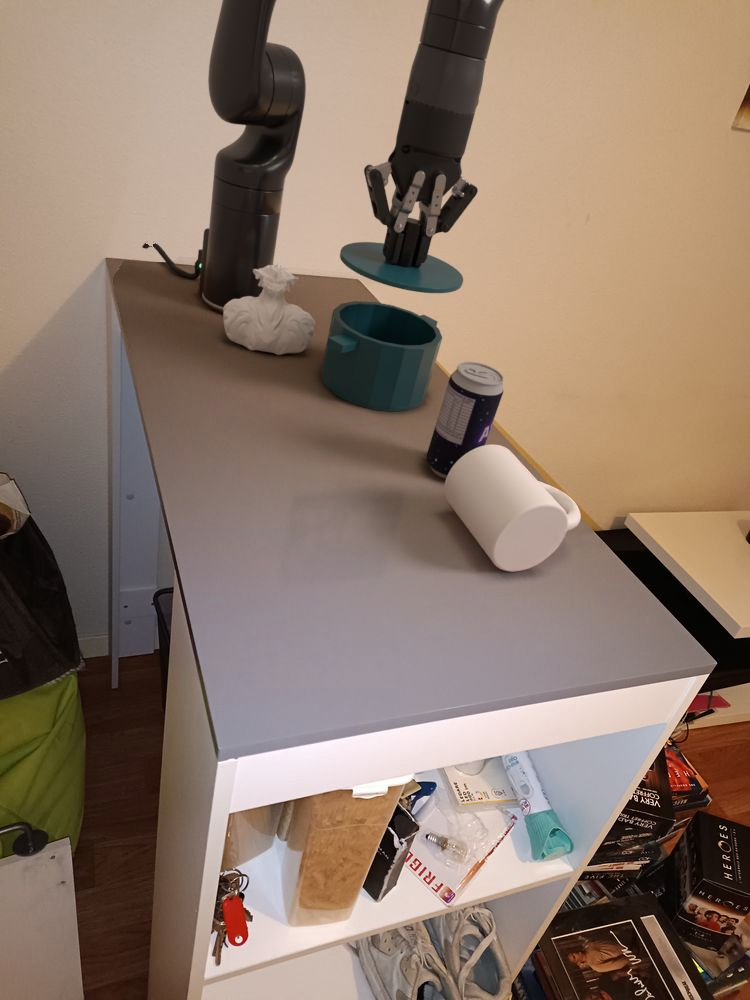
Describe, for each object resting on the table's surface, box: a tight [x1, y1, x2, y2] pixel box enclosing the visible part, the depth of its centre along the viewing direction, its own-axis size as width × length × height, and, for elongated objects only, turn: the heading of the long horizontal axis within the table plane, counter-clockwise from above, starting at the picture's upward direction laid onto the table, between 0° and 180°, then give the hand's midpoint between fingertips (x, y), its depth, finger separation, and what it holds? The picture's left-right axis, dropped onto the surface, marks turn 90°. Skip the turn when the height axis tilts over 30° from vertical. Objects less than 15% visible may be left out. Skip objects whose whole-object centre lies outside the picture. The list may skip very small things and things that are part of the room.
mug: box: [443, 444, 582, 573], centre depth 71 cm, size 12×10×8 cm
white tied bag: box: [222, 263, 316, 356], centre depth 96 cm, size 12×8×11 cm
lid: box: [339, 217, 464, 294], centre depth 85 cm, size 15×15×6 cm
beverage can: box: [425, 361, 504, 480], centre depth 78 cm, size 6×6×12 cm
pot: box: [321, 300, 443, 412], centre depth 93 cm, size 14×19×8 cm
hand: (402, 263), depth 86 cm, fingers closed on lid, 2 cm apart
